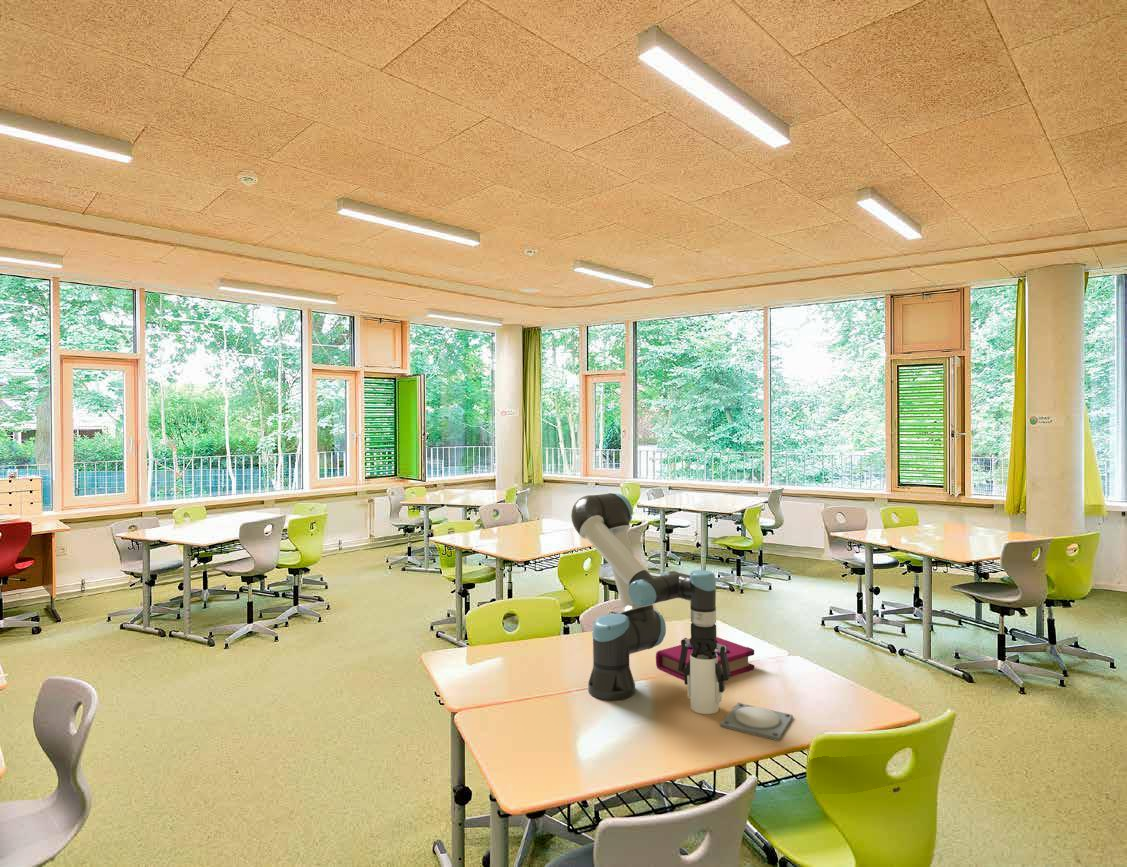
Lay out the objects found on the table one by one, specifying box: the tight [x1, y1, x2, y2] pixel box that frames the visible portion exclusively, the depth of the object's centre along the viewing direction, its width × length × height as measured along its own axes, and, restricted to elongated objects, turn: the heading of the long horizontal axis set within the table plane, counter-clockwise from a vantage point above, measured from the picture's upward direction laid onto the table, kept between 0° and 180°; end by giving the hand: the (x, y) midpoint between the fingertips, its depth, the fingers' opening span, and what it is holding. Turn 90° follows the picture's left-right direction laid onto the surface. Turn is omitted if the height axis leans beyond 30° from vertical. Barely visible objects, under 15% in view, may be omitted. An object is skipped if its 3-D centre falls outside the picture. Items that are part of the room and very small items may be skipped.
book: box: [655, 636, 755, 681], centre depth 220 cm, size 21×28×8 cm
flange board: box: [720, 702, 794, 741], centre depth 179 cm, size 16×16×2 cm
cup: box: [689, 652, 720, 715], centre depth 188 cm, size 8×8×16 cm
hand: (704, 698), depth 188 cm, fingers closed on cup, 8 cm apart
